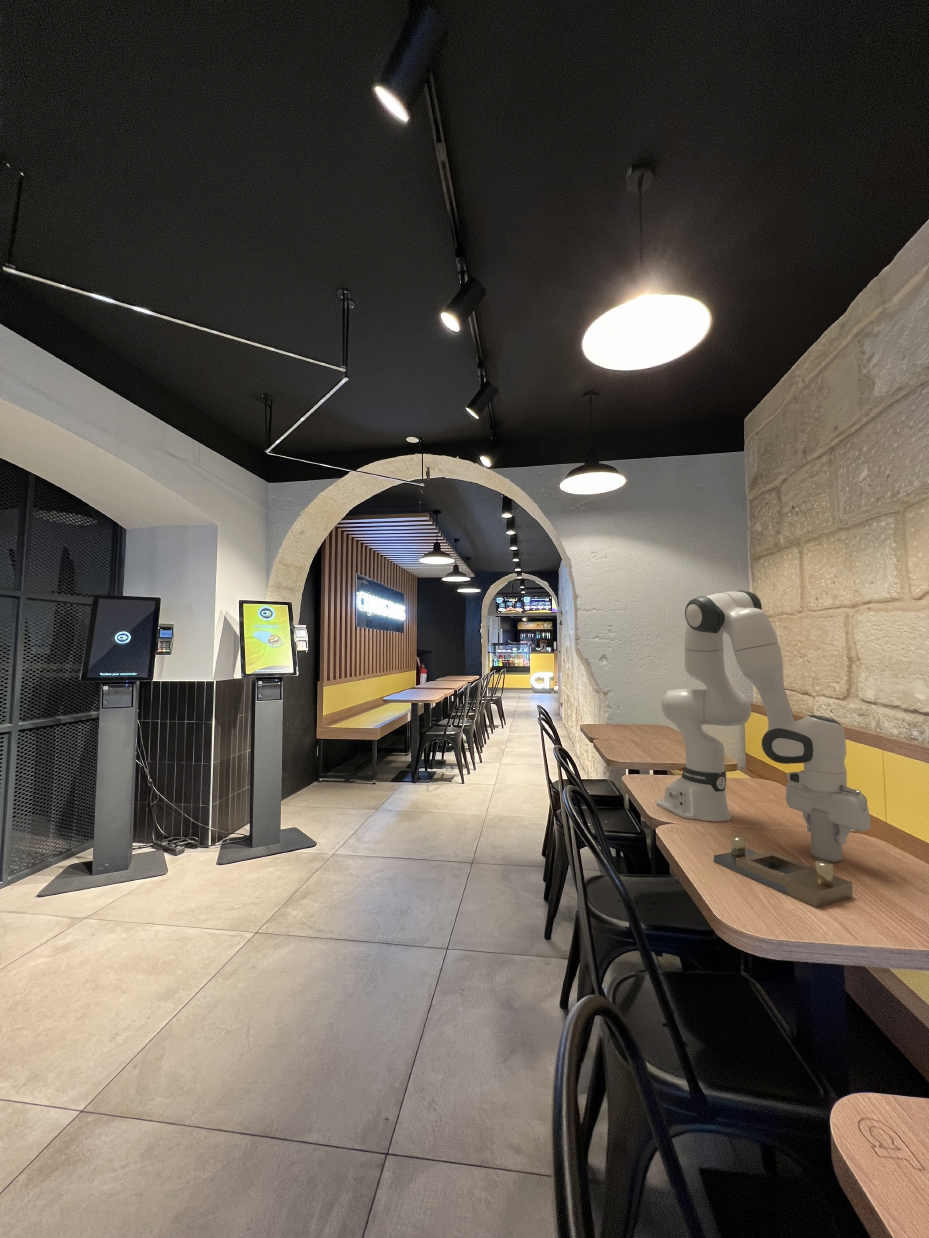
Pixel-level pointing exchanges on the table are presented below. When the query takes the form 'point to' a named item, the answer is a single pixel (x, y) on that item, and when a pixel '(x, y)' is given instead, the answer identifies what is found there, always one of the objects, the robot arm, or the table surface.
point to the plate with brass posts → (787, 874)
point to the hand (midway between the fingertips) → (826, 837)
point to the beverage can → (824, 837)
